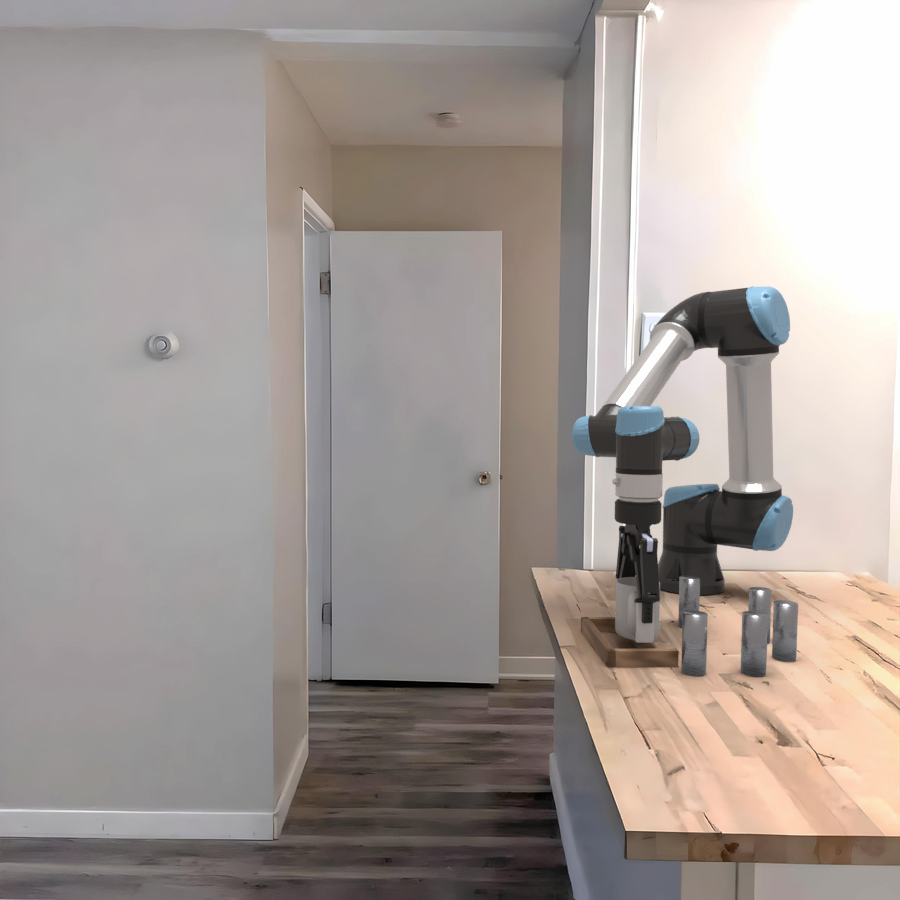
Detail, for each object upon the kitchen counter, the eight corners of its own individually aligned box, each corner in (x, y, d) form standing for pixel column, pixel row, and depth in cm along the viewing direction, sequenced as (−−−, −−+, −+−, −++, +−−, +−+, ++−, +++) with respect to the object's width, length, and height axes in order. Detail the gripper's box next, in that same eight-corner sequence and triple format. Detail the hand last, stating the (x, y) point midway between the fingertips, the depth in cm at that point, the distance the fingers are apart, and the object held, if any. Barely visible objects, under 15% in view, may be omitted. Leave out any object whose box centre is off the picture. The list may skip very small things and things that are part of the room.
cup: (661, 630, 129) (662, 579, 129) (654, 647, 120) (655, 592, 119) (618, 625, 132) (619, 575, 131) (608, 642, 123) (609, 588, 122)
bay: (641, 630, 136) (641, 616, 136) (678, 666, 117) (678, 650, 116) (580, 630, 135) (581, 616, 135) (608, 667, 116) (608, 651, 116)
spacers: (741, 623, 141) (743, 575, 140) (822, 676, 113) (824, 617, 112) (633, 623, 140) (634, 575, 139) (687, 677, 112) (688, 617, 111)
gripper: (599, 491, 136) (597, 614, 137) (635, 507, 113) (632, 654, 115) (640, 491, 136) (638, 614, 137) (684, 507, 114) (680, 653, 115)
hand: (635, 632), depth 126 cm, fingers closed on cup, 9 cm apart
